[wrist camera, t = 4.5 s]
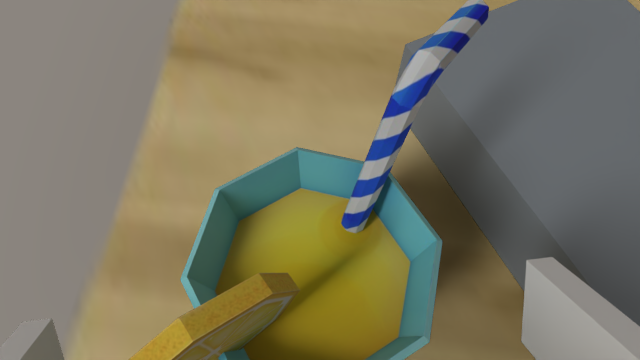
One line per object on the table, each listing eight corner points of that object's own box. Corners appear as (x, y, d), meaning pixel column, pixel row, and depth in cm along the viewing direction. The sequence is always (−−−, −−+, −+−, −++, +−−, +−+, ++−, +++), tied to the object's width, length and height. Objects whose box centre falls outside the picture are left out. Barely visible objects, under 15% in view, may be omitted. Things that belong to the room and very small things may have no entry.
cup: (341, 169, 27) (368, -75, 14) (460, 245, 25) (629, 46, 12) (169, 381, 22) (-62, 324, 8) (302, 499, 20) (278, 672, 6)
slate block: (554, 33, 32) (594, -30, 27) (760, 245, 25) (856, 208, 21) (391, 101, 29) (405, 44, 25) (572, 360, 22) (637, 346, 18)
